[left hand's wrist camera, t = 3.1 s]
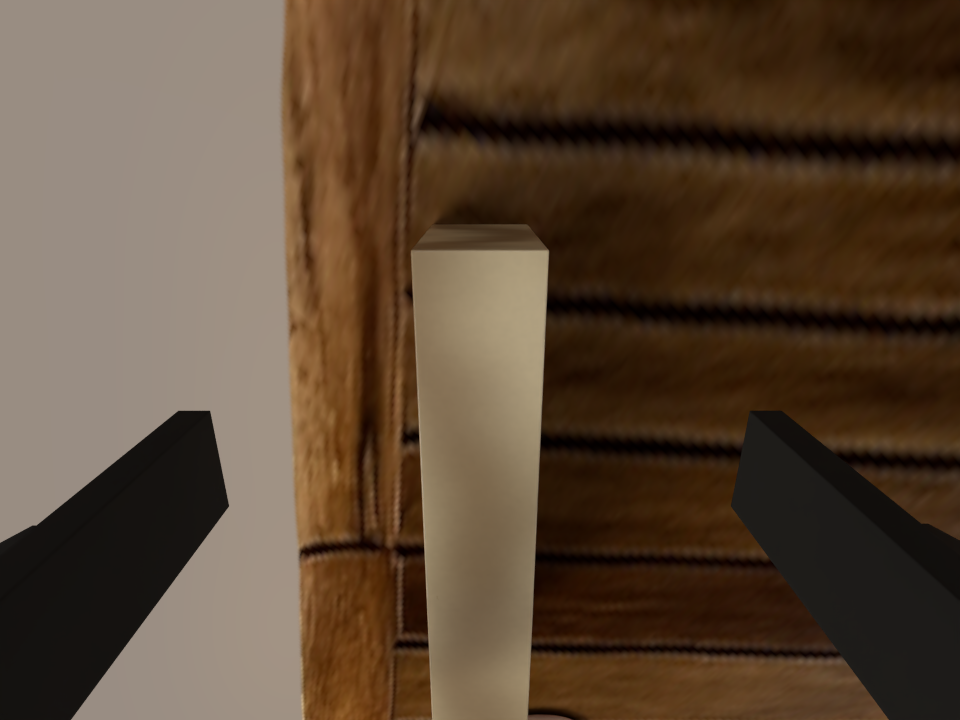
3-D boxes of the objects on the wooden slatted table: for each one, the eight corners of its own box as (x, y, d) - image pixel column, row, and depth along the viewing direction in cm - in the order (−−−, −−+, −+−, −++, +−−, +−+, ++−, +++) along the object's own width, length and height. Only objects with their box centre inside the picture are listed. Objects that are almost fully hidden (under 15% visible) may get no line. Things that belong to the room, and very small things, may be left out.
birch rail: (527, 224, 27) (549, 249, 19) (515, 608, 36) (526, 742, 28) (432, 224, 27) (410, 249, 19) (443, 608, 36) (433, 742, 28)
